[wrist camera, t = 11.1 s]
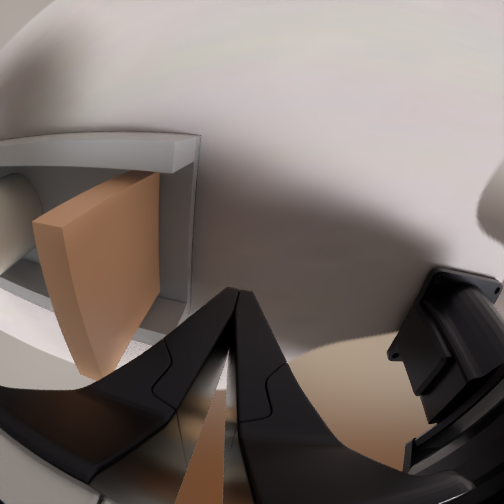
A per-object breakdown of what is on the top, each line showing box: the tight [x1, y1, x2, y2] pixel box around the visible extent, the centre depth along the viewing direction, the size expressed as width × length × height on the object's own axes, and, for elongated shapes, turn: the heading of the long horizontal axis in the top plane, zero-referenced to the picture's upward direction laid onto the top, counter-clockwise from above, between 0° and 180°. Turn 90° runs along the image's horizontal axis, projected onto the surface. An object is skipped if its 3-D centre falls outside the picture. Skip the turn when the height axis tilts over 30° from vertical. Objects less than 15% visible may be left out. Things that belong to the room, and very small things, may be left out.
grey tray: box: [0, 132, 201, 345], centre depth 11 cm, size 17×9×5 cm, turn 82°
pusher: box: [32, 170, 160, 381], centre depth 9 cm, size 1×6×6 cm, turn 172°
